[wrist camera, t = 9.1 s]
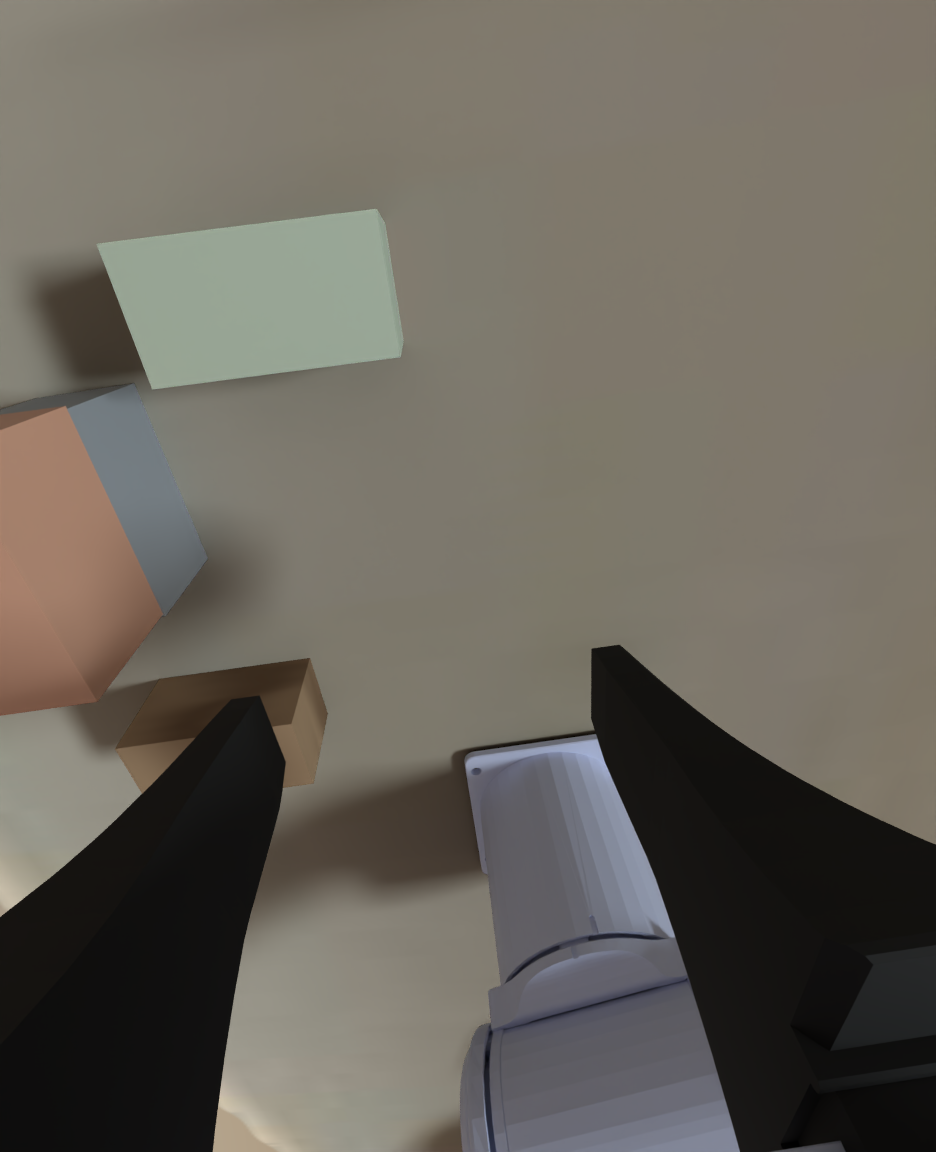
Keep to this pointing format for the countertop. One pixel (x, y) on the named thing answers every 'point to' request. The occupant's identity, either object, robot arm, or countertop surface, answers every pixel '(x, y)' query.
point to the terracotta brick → (62, 570)
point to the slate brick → (135, 483)
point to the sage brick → (258, 298)
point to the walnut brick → (198, 699)
